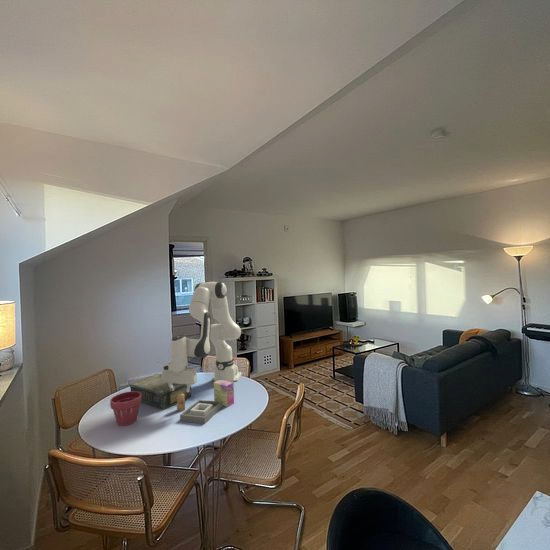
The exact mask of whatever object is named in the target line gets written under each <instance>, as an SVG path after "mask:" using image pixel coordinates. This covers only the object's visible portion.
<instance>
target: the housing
mask: <svg viewBox="0 0 550 550" xmlns="http://www.w3.org/2000/svg"><path fill="white" fill-rule="evenodd" d="M222 407H223V405H222V402H218V401H214V400H206V399H204V400H203V399H198V400H197V401H196V402H194V404H192V405H191V406H189V407H188V408H187V409H185V410H184V411H182V413H181V414H179V418H180V419H179V421H180V422H186V423H195V424H203V425H204V424H205V425H206V424H207V423H208V421H210V419H212V418H213V416H215V415H216V414H217V413H218V412H219V411H220V410H221V409H222Z"/></svg>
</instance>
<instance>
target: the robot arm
mask: <svg viewBox="0 0 550 550" xmlns="http://www.w3.org/2000/svg"><path fill="white" fill-rule="evenodd" d="M227 294H228V287H227V285H226V283H225V282H222V281H208V282H207V281H206V282H198V283H197V284H196V285H195V287H194V290H193V294H192V295H191V296H192V297H191V298H190V302H189V306H188V312H189V314H190V316H191V317H192V318H193V319H195V320H197V321H199V322H200V324H201V327H200V336H199V337H200V338H198V339H197V338H189V337H186V335H184V334H178V335H174V336H172V338H171V339H170V345H169V354H170V361H169V363H167V364H165V365H163V366H162V367H161V368H162V371H161V374H162V381H163V383H168V385H169V387H170V391H174V387H173V385H172V384H173V383H176V384H187V386H188V387H187V388H186V389H185V392H189V388H190V386H191V387H192V386H193V385H195V384H196V383H197V382H198V376H197V369H196V367H194V366H188V357H195V358H200V359H204V358H206V357H207V356H208V355H209V354H210V352H211V343H212V344H213V346H214V348H215V367H214V373H213V374H214V375H213V376H214V377H212V380H213V381H214V382H216V381H218V380H224V381H228V382H232V383H235V382H238V381H239V380H240V379H241V376H242V374H243V373H242V372H241V371H239V367H238V366H237V365H236V364H235V360H236V358H235V357H233V348H232V346H231V345H229V344H228V343H227V342H226V341H235V340H238V339H239V338H240V337H241V334H242V328H241V327H240V326H239V324H237V323H236V322H234V320H233V318H232V317H231V314H230V310H229V302H228V297H227ZM210 301H211V302H210ZM209 304H210V305H211V310H212V317H213V319H214V320H215V321H217V322H219V323H213V324H212V317H211V313H210V312H209V306H210V305H209Z"/></svg>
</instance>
